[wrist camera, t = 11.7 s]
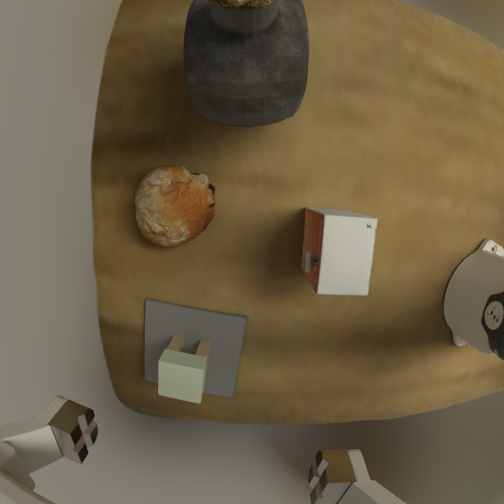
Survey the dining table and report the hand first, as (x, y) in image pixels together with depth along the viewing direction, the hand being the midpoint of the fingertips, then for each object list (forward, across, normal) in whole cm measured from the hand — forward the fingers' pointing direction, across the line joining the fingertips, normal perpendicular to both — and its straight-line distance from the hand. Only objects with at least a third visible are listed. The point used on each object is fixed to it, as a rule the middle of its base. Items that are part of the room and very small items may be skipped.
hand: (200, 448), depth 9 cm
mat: (+30, +6, +15) cm, 34 cm away
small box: (+31, -10, -4) cm, 32 cm away
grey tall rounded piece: (+31, +3, -24) cm, 39 cm away
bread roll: (+31, +10, -6) cm, 33 cm away
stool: (+30, +6, +15) cm, 34 cm away
